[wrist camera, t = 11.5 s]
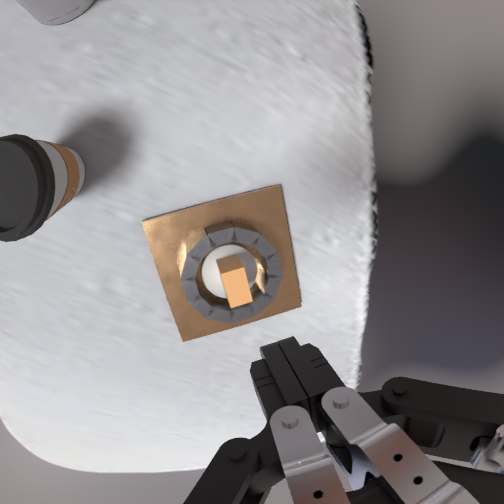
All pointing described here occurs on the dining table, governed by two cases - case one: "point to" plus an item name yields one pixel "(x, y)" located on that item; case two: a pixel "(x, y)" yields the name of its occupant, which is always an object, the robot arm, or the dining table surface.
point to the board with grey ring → (214, 234)
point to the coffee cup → (34, 183)
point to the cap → (230, 273)
